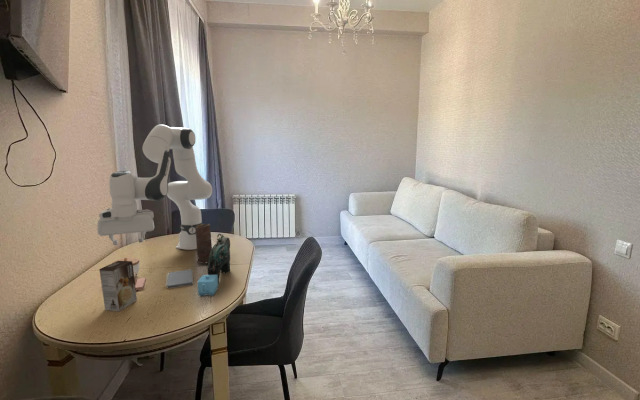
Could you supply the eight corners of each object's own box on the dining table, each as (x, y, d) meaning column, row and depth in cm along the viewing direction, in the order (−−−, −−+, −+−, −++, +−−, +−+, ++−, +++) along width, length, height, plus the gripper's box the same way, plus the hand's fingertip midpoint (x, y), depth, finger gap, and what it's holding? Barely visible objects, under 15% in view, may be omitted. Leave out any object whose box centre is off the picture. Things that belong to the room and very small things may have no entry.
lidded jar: (131, 271, 157) (128, 252, 156) (146, 275, 153) (144, 256, 151) (108, 280, 148) (105, 260, 146) (123, 284, 143) (121, 263, 142)
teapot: (211, 300, 128) (210, 282, 126) (195, 301, 127) (194, 283, 126) (219, 287, 139) (218, 270, 138) (204, 288, 139) (203, 271, 138)
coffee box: (123, 298, 130) (118, 259, 127) (137, 300, 128) (133, 260, 126) (104, 310, 121) (98, 268, 118) (119, 311, 120) (114, 269, 117)
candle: (208, 265, 164) (205, 226, 161) (194, 265, 165) (191, 226, 162) (215, 260, 171) (213, 223, 168) (202, 259, 173) (200, 222, 169)
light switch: (125, 283, 144) (123, 271, 143) (145, 280, 147) (144, 269, 146) (121, 292, 135) (119, 280, 134) (143, 289, 138) (141, 277, 137)
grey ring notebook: (167, 275, 153) (167, 272, 153) (192, 271, 157) (192, 269, 157) (165, 288, 138) (165, 286, 138) (192, 284, 142) (192, 282, 142)
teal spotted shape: (222, 269, 160) (219, 229, 156) (235, 269, 159) (233, 229, 156) (205, 286, 140) (202, 241, 137) (220, 287, 140) (217, 241, 136)
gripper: (153, 207, 142) (156, 238, 145) (98, 211, 135) (102, 244, 137) (152, 210, 136) (155, 242, 139) (94, 214, 129) (98, 248, 131)
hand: (128, 243), depth 138 cm, fingers open, 8 cm apart
